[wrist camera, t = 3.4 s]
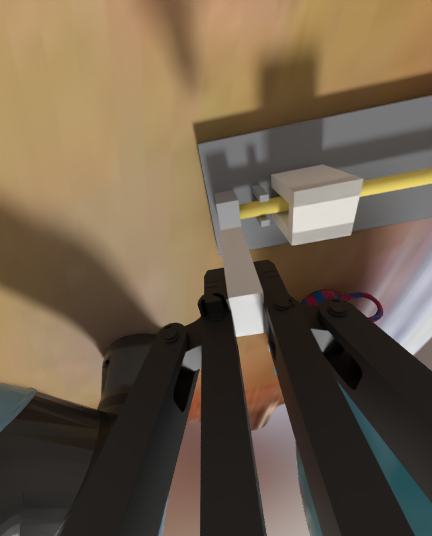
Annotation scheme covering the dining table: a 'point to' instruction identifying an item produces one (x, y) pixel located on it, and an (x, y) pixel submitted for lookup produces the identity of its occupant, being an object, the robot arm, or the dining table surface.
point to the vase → (402, 484)
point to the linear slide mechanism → (330, 154)
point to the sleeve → (316, 203)
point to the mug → (325, 294)
